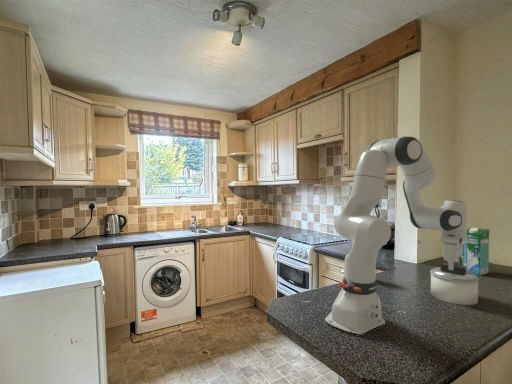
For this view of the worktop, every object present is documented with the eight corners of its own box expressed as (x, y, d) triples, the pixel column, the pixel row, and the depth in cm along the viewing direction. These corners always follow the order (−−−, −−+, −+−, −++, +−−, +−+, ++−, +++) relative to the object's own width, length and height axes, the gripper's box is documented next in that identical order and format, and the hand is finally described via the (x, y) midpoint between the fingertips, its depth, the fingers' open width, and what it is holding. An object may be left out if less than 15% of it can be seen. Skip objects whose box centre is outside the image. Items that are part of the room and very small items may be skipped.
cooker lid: (473, 283, 110) (473, 273, 110) (427, 274, 122) (427, 265, 122) (479, 274, 121) (479, 265, 121) (437, 266, 133) (437, 258, 133)
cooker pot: (475, 309, 109) (475, 284, 109) (425, 296, 122) (425, 274, 122) (481, 296, 121) (482, 274, 121) (435, 286, 134) (435, 266, 134)
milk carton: (461, 271, 158) (462, 228, 157) (470, 269, 162) (471, 227, 161) (479, 275, 150) (480, 230, 149) (488, 273, 153) (489, 229, 153)
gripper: (450, 232, 131) (450, 261, 131) (439, 238, 116) (439, 270, 117) (467, 234, 126) (466, 264, 126) (458, 240, 112) (457, 274, 112)
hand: (453, 267), depth 121 cm, fingers open, 8 cm apart
